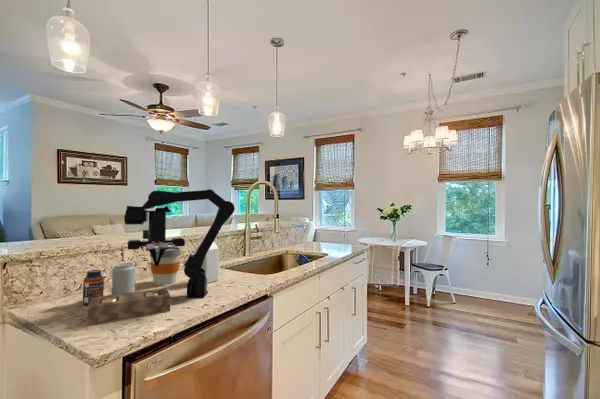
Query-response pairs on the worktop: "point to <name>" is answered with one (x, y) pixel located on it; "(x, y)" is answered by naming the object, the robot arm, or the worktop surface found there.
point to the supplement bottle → (92, 286)
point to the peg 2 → (151, 294)
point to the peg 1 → (109, 299)
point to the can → (123, 278)
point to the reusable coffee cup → (166, 266)
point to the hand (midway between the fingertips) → (156, 266)
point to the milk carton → (211, 263)
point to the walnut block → (128, 306)
